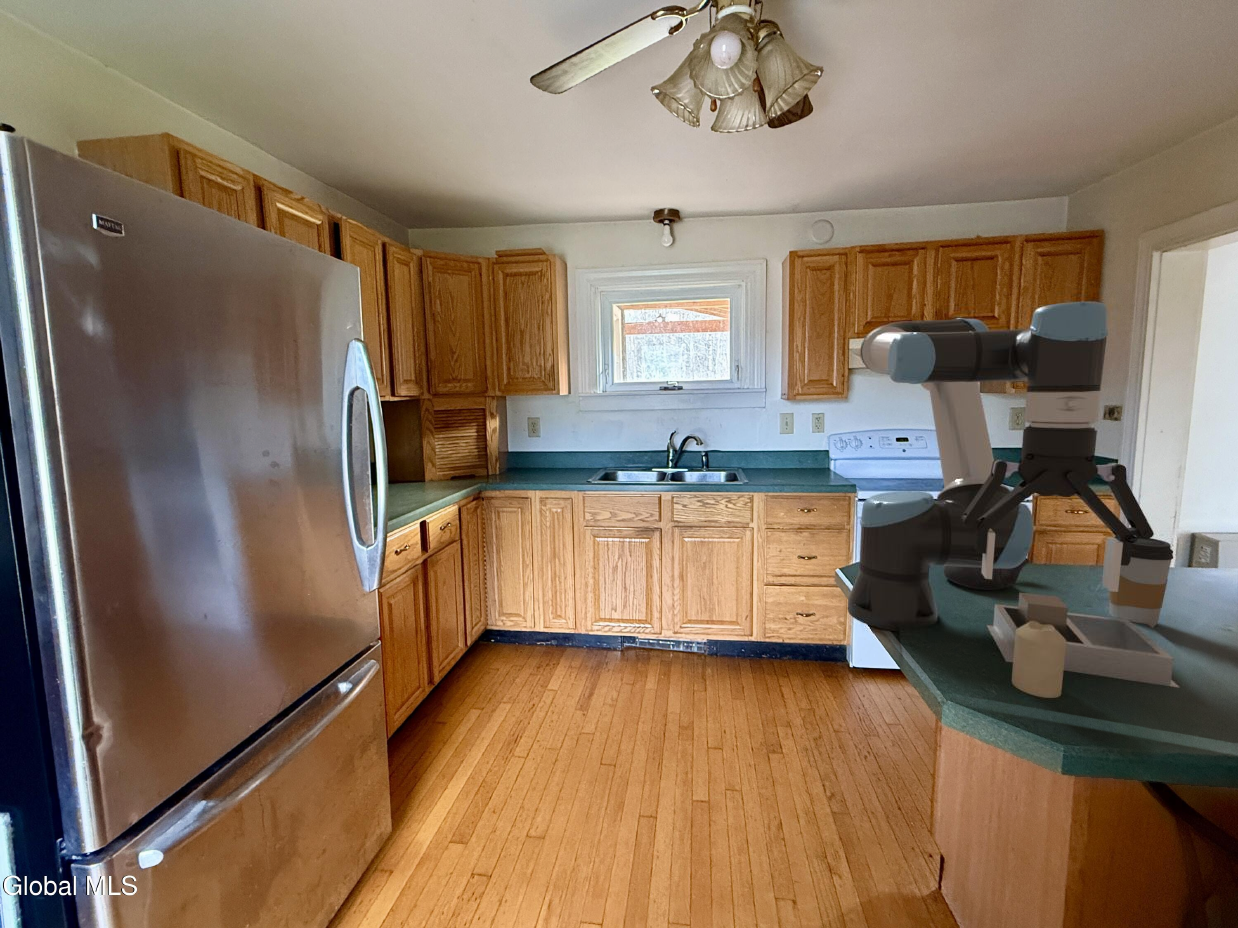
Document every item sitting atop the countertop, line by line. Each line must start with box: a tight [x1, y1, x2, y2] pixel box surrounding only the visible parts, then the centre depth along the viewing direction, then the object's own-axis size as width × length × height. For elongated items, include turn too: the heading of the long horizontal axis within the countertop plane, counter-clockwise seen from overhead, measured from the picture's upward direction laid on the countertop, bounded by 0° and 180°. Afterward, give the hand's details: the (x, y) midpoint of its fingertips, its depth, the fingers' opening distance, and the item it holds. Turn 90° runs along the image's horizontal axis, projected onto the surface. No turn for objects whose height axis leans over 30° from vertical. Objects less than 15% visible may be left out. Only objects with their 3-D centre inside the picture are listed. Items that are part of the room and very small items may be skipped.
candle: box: [1011, 621, 1066, 699], centre depth 76 cm, size 6×6×10 cm
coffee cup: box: [1108, 536, 1174, 629], centre depth 98 cm, size 8×8×15 cm
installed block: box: [1017, 592, 1069, 638], centre depth 87 cm, size 5×5×8 cm
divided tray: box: [986, 603, 1181, 688], centre depth 85 cm, size 20×14×5 cm
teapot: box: [943, 557, 1031, 591], centre depth 120 cm, size 19×15×10 cm
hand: (1045, 582), depth 74 cm, fingers open, 13 cm apart
